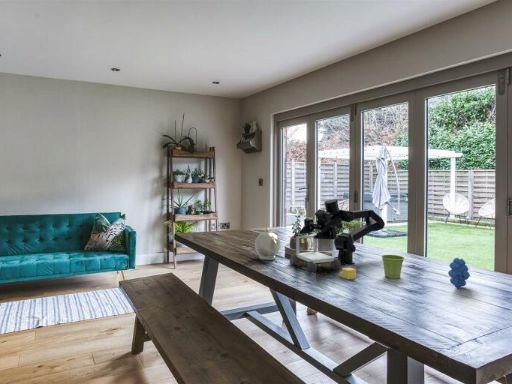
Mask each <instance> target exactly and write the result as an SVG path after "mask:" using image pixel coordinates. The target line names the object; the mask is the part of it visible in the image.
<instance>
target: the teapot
mask: <svg viewBox="0 0 512 384" xmlns="http://www.w3.org/2000/svg"><path fill="white" fill-rule="evenodd" d="M254 248H255V251H256V253H257V254H258V255H259V257H258V258H259V260H261V261H274V260H276V259H277V256H276V255H277V254H278V253H279V251H280V249H281V240H280V238H279V236H278V235H277V234H276V233H274V232H272V231H270V228H268V227H266V228H265V231H262V232H261V233H259V234H258V235H257V236H256V238H255V240H254Z"/></svg>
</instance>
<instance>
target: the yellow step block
mask: <svg viewBox="0 0 512 384" xmlns="http://www.w3.org/2000/svg"><path fill="white" fill-rule="evenodd" d="M356 273H357V270H356V269H355V268H352V267H342V269H341V271H339V277H340V278H343V279H344V280H345V279H346V280H354V279H356V278H357V275H356Z"/></svg>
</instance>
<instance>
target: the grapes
mask: <svg viewBox="0 0 512 384" xmlns="http://www.w3.org/2000/svg"><path fill="white" fill-rule="evenodd" d="M448 266H449V268H450V269H449V270H448V271H447V274H448V276H449V277H450V279H449V282H450V284H451V285H453V286H454V287H455V288H456V289H460V288H462V287H465V286H466V285H467V281H466V280H468V279H469V278H470V277H471V273H470V272H469V270H470V269H469V267H468V265H467V264H466V261H465V260H464V259H463V258H459V257H455V258H454V259H453V260H452V262H450V263H449V265H448Z"/></svg>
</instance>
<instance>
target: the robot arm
mask: <svg viewBox="0 0 512 384" xmlns="http://www.w3.org/2000/svg"><path fill="white" fill-rule="evenodd" d="M323 204H324V208H325V210H323V209H321V208H318V209H317V210H316V211H315V212H314V216H315V218H316V221H315V222H316V223H315V222H314V219H311V218H308V217H307V218H305V219H303V225H304V226H303V227H302V229H300V231H299V234H300V235H301V234H302V235H303V234H311V233H313V232H314V231H315V230H317V231H318V233H316V234H314V235H315V236H314V237H313V240H314V239H317V240H332V241H333V243H334V247H335V250H336V251H338V254H337V258H338V259H339V260H340V263H341V265H343V266H345V265H354V264H355V262H353V254H354V253H355V252H356V249H357V247H356V246H355V242H356V241H357V240H359V239H361V238H363V237H364V236H367V235H369V234H370V233H372V232H377V231H381V230H383V229H384V228H385V225H386V223H385V220H384V219H383V218H382V217H381V216H380V215H378V214H377V213H376V211H375V210H374V209H371V208H370V209H368V208H366V209H359V210H344V209H340V208H339V203H338V199H336V198H333V199H329V200H328V199H327V200H324V203H323ZM356 219H357V220H358V219H364V221H365V223H364V225H362V226H360V227H359V228H357V229H355V230H353V231H351V232H341V233H340V234H337V230H336V229H340V230H342V229H343V223H351V222H354V220H356Z"/></svg>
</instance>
